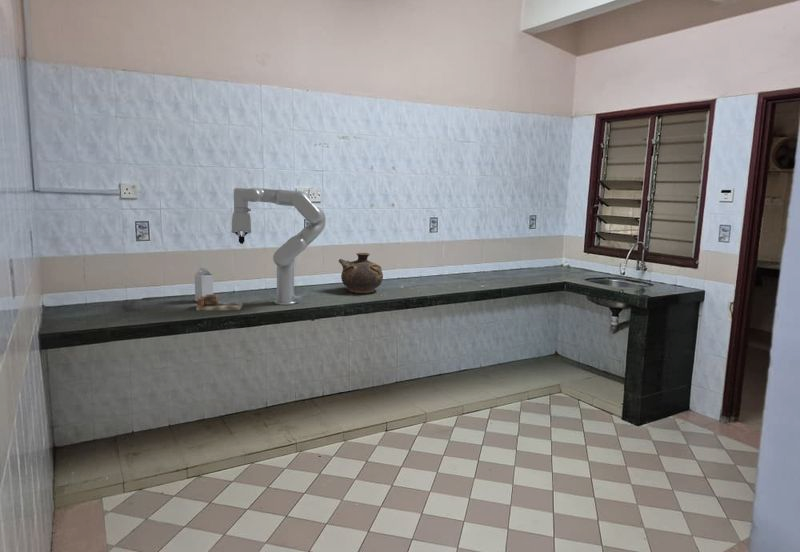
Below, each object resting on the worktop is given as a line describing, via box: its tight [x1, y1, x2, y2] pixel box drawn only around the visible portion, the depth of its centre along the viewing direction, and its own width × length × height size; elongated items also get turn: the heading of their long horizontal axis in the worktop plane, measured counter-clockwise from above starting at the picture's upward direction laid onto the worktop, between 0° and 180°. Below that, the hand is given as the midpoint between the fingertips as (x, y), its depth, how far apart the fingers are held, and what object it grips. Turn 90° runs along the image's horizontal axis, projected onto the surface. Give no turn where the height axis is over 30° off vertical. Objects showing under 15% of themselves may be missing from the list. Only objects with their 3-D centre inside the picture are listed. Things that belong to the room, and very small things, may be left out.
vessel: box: [338, 252, 384, 294], centre depth 347 cm, size 27×28×25 cm
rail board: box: [196, 296, 243, 311], centre depth 290 cm, size 22×11×6 cm, turn 100°
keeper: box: [205, 293, 219, 305], centre depth 289 cm, size 6×6×5 cm
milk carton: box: [194, 266, 214, 303], centre depth 304 cm, size 7×7×19 cm
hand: (241, 243), depth 302 cm, fingers closed
